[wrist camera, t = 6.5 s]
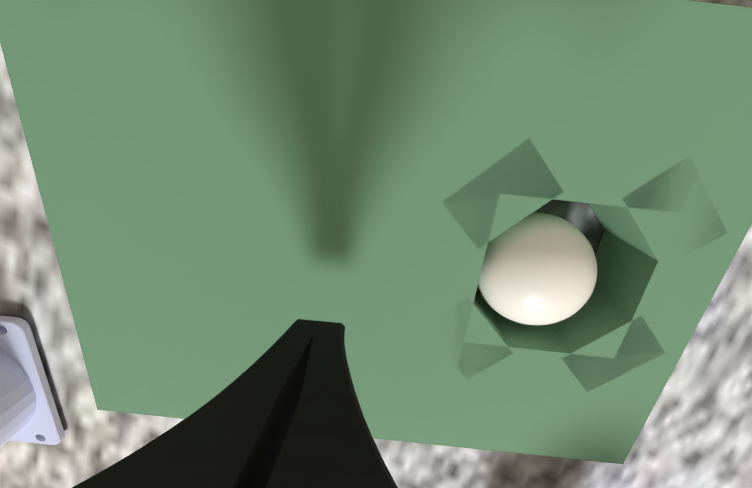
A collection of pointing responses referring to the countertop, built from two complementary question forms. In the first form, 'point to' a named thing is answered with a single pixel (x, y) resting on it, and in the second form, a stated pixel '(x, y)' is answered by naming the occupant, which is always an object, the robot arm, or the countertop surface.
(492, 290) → the ball
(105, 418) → the countertop surface
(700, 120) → the block
